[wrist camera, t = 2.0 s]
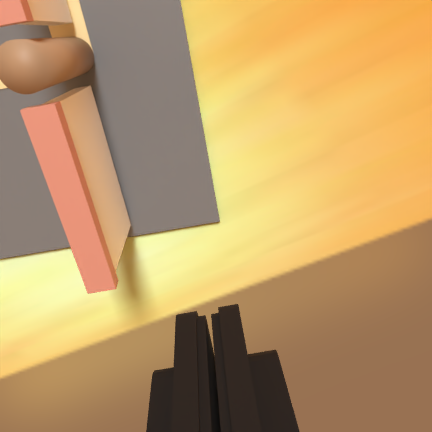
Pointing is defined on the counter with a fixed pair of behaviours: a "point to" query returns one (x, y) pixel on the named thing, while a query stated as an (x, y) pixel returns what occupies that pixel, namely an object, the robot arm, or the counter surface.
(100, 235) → the fence gate
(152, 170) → the card
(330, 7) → the counter surface
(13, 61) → the fence fixed
